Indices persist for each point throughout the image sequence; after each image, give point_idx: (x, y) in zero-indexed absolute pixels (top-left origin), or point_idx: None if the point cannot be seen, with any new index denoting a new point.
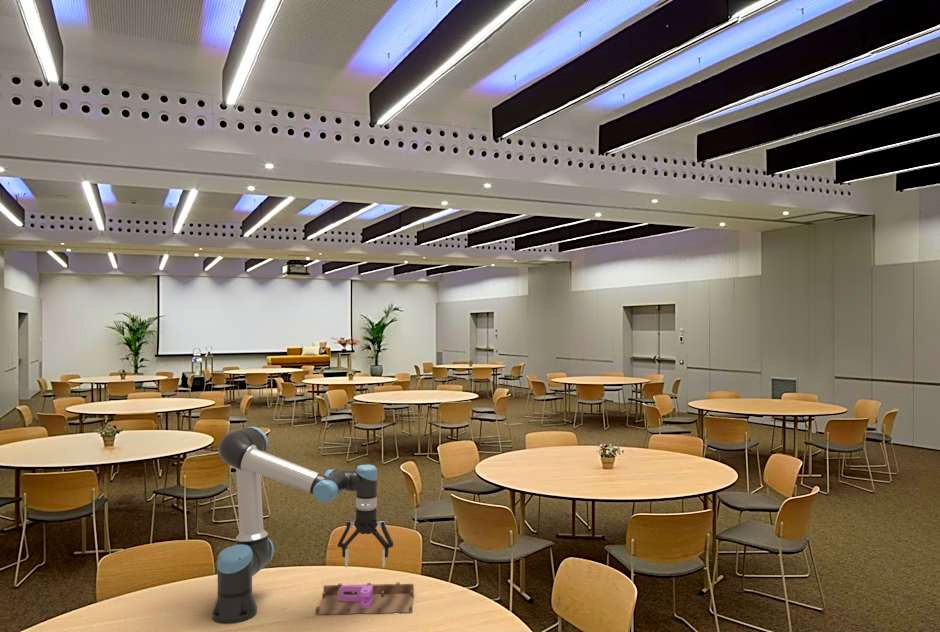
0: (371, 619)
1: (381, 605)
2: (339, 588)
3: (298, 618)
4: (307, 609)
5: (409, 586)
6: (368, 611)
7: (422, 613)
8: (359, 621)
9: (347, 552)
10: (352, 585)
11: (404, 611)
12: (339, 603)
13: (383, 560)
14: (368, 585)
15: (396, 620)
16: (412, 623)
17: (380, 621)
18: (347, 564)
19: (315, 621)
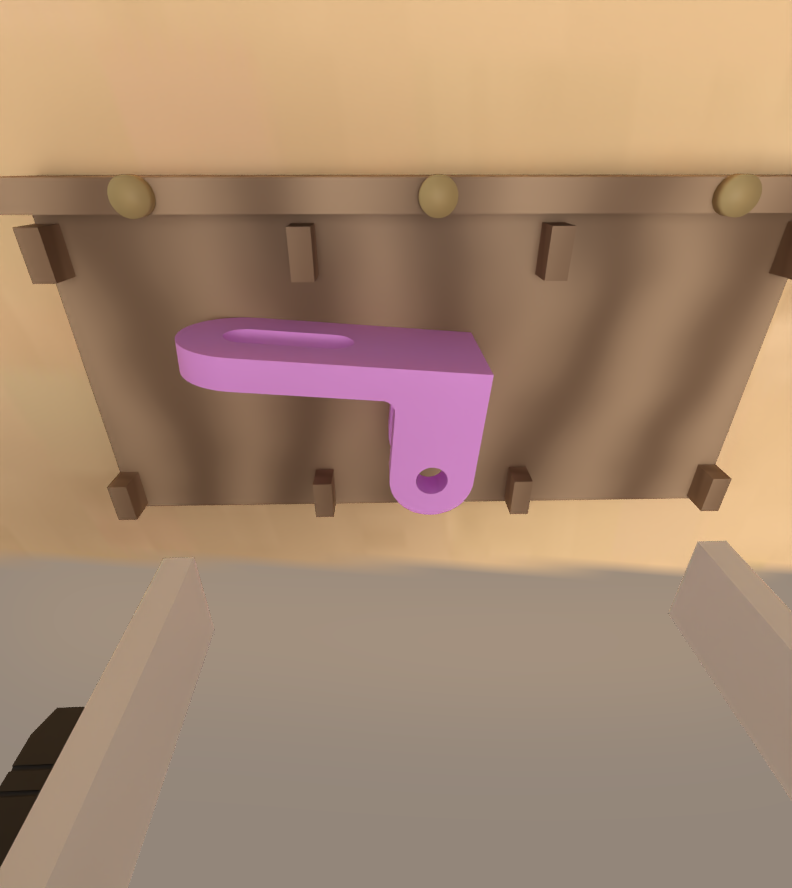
0: (464, 522)
1: (530, 414)
2: (179, 356)
3: (48, 504)
4: (33, 398)
5: None
6: None
7: (759, 467)
8: (402, 539)
9: (128, 851)
10: (297, 374)
11: (662, 493)
12: None
13: (736, 693)
14: (450, 378)
15: (597, 533)
16: (671, 560)
17: (512, 541)
18: (200, 618)
19: (164, 535)
